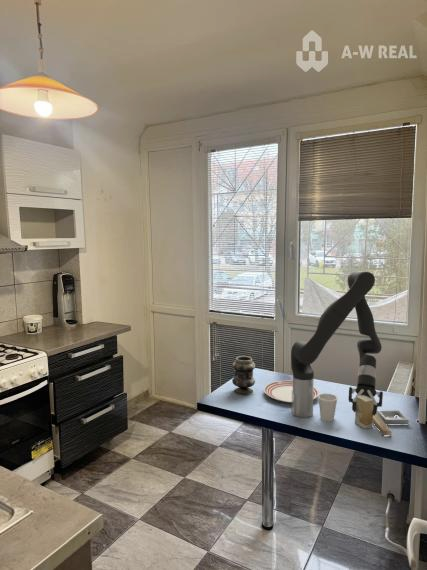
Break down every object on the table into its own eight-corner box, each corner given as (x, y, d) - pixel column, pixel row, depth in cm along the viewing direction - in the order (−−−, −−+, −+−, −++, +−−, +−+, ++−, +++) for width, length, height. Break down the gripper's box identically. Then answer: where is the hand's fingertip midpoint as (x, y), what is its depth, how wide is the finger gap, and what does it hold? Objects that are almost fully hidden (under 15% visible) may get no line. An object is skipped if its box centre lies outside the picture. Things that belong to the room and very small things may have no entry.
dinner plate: (324, 407, 187) (325, 400, 186) (267, 407, 187) (267, 400, 187) (311, 386, 214) (311, 380, 213) (261, 386, 214) (261, 380, 214)
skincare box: (354, 422, 170) (355, 395, 168) (362, 421, 171) (363, 394, 170) (365, 429, 164) (366, 401, 162) (373, 427, 165) (374, 399, 164)
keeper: (385, 425, 167) (385, 419, 167) (377, 415, 177) (377, 410, 177) (408, 425, 167) (408, 420, 167) (398, 415, 177) (399, 410, 176)
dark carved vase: (259, 393, 204) (259, 359, 202) (239, 397, 198) (239, 362, 196) (247, 385, 215) (247, 353, 213) (228, 389, 209) (228, 356, 207)
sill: (383, 436, 157) (383, 430, 157) (366, 415, 177) (366, 409, 177) (391, 436, 157) (391, 431, 157) (373, 415, 177) (373, 409, 177)
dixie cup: (320, 422, 170) (321, 400, 169) (315, 414, 178) (315, 393, 177) (339, 422, 170) (340, 400, 169) (333, 414, 178) (334, 393, 177)
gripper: (349, 371, 175) (345, 406, 166) (384, 376, 169) (382, 412, 160) (350, 379, 180) (346, 413, 171) (384, 383, 175) (382, 419, 165)
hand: (364, 413), depth 166 cm, fingers closed on skincare box, 7 cm apart
